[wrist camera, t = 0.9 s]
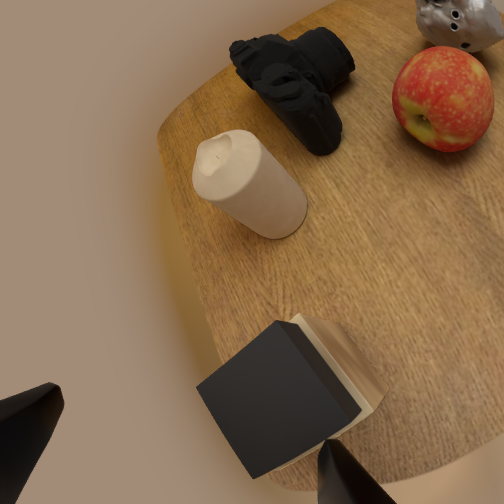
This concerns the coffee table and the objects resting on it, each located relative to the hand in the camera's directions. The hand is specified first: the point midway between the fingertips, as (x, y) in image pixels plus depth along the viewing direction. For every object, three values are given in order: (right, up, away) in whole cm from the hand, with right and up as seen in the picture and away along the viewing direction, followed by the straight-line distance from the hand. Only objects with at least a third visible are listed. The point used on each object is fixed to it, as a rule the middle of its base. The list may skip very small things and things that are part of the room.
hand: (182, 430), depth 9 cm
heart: (+24, +26, +13) cm, 37 cm away
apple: (+19, +16, +13) cm, 28 cm away
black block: (+4, -2, +6) cm, 8 cm away
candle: (+5, +9, +19) cm, 22 cm away
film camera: (+9, +21, +21) cm, 31 cm away
